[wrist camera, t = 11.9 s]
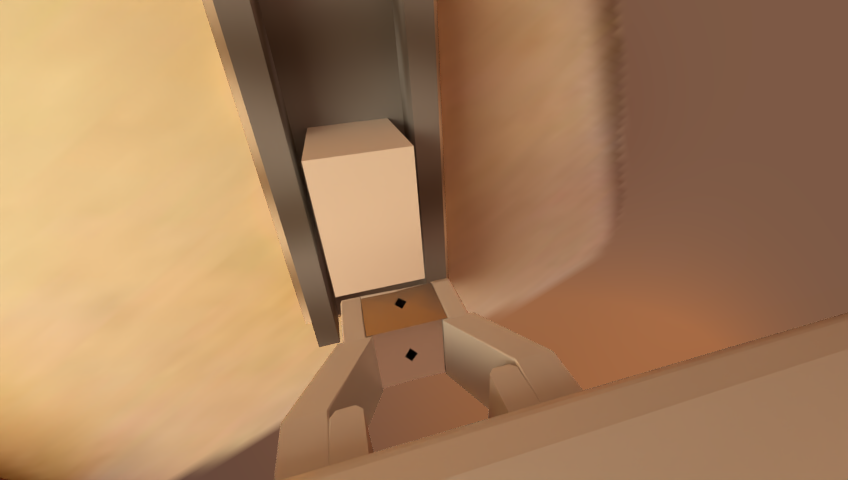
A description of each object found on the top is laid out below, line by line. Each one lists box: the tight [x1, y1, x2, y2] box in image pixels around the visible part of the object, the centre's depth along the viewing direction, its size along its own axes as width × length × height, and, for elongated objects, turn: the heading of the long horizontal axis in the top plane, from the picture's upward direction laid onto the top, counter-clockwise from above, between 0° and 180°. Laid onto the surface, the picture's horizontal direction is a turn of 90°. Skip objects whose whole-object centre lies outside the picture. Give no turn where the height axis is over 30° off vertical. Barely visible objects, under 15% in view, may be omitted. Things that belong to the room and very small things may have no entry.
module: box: [301, 118, 425, 297], centre depth 16 cm, size 6×4×6 cm, turn 4°
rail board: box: [202, 0, 449, 347], centre depth 19 cm, size 19×10×4 cm, turn 4°
